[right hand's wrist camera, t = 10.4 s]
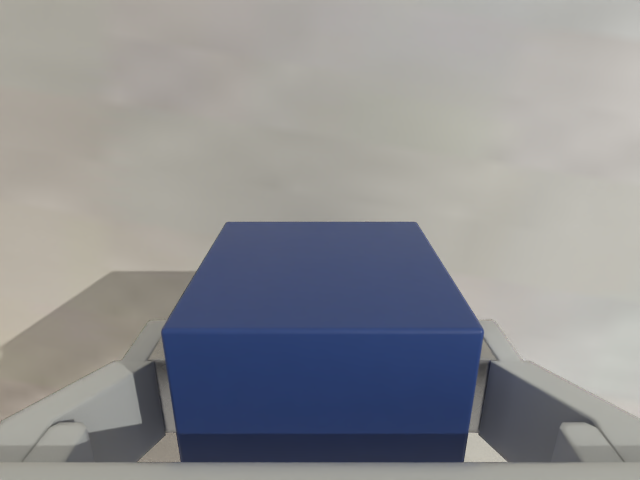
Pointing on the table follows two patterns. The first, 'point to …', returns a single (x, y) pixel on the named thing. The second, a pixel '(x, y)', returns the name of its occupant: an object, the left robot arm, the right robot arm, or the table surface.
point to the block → (322, 347)
